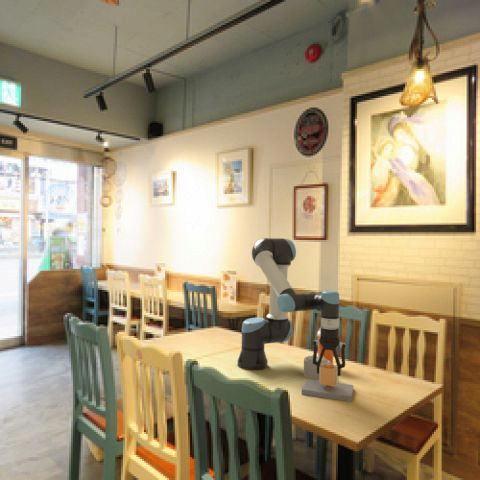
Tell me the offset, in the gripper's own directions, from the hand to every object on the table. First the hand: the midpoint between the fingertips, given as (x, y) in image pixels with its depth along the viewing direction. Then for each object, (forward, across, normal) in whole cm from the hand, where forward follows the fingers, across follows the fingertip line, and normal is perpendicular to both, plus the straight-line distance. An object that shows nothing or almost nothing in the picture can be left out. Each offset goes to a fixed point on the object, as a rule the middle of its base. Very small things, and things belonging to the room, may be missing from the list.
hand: (328, 382), depth 172 cm
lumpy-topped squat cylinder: (+4, -8, +20) cm, 22 cm away
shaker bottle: (+4, -5, +35) cm, 36 cm away
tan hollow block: (0, 0, 0) cm, 0 cm away
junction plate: (+4, 0, 0) cm, 4 cm away
